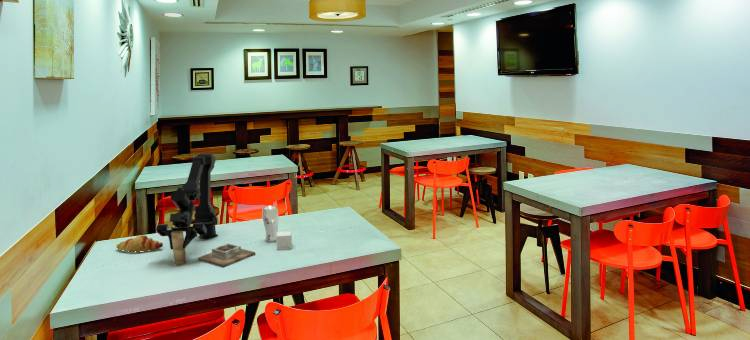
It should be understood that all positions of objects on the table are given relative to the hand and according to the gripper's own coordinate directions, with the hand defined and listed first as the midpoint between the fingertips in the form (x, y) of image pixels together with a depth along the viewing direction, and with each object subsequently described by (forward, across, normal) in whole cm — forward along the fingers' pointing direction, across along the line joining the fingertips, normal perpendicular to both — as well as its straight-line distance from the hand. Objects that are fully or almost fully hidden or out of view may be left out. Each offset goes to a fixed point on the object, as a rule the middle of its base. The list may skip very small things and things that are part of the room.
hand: (177, 248), depth 185 cm
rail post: (+4, 0, +6) cm, 7 cm away
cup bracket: (0, +17, +9) cm, 19 cm away
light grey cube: (-7, +39, +17) cm, 43 cm away
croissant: (-9, -25, +19) cm, 32 cm away
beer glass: (-14, +31, +24) cm, 42 cm away
